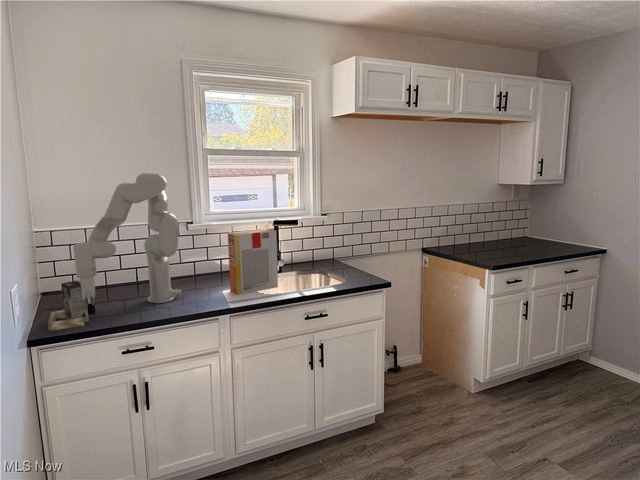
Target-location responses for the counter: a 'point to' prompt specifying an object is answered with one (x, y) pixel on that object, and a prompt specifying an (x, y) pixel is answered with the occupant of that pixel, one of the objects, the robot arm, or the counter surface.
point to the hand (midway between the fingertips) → (91, 313)
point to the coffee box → (74, 301)
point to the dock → (63, 321)
